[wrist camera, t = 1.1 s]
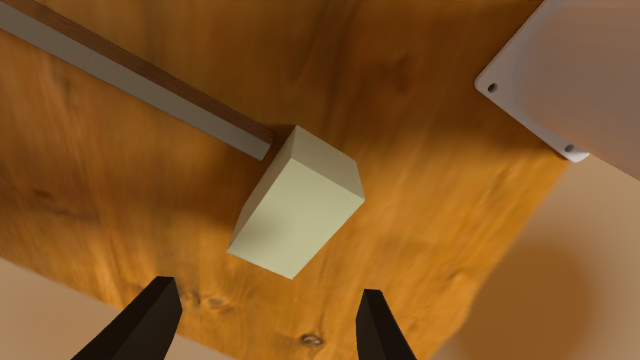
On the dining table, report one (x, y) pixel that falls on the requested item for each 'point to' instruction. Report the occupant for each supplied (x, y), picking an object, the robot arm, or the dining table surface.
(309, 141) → the cabinet block
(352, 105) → the dining table surface
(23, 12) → the strip
